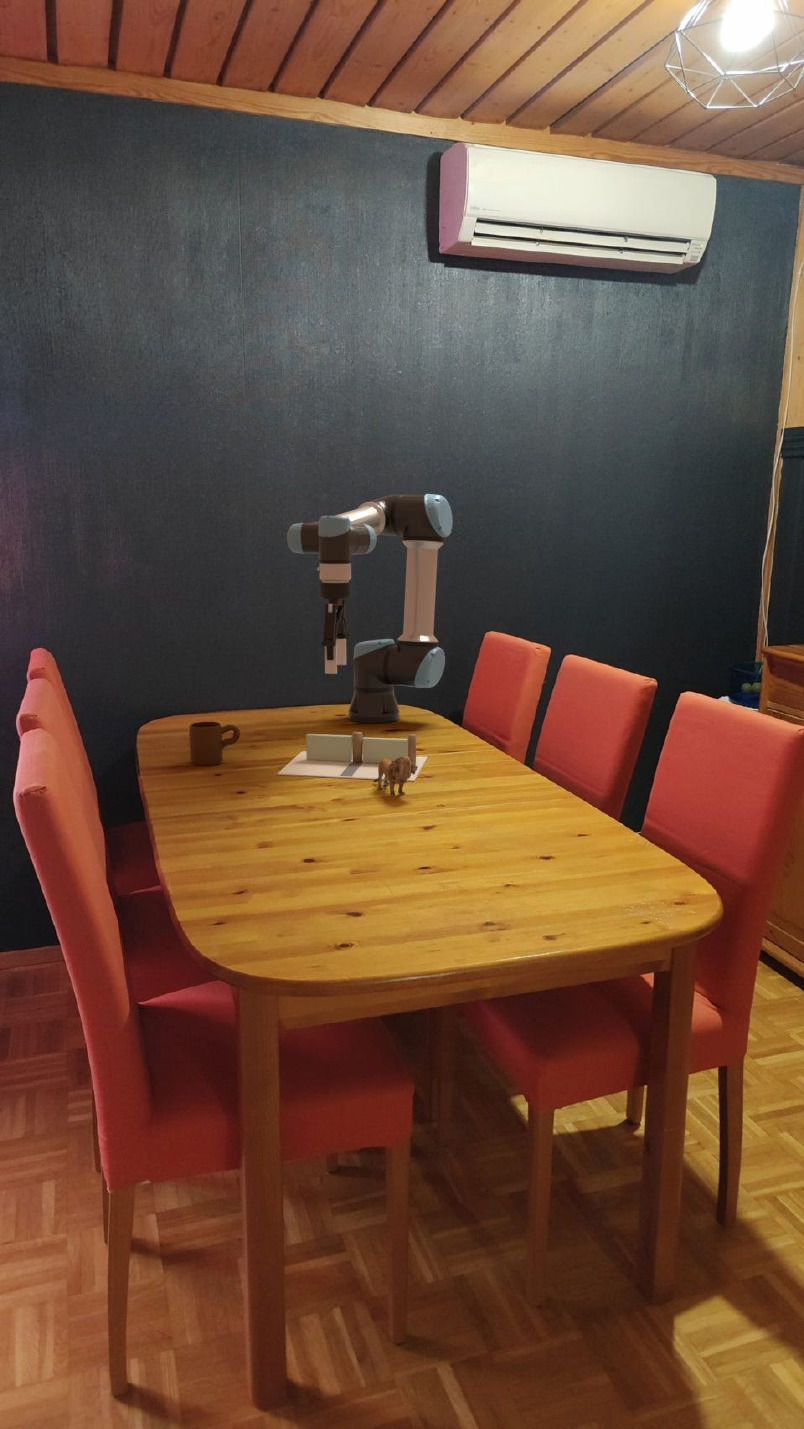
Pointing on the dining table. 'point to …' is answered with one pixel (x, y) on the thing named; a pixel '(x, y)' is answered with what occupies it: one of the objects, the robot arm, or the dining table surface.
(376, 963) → the dining table surface
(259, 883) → the dining table surface
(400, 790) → the lion figurine
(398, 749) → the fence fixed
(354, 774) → the card
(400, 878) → the dining table surface
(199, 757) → the mug
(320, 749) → the fence panel
